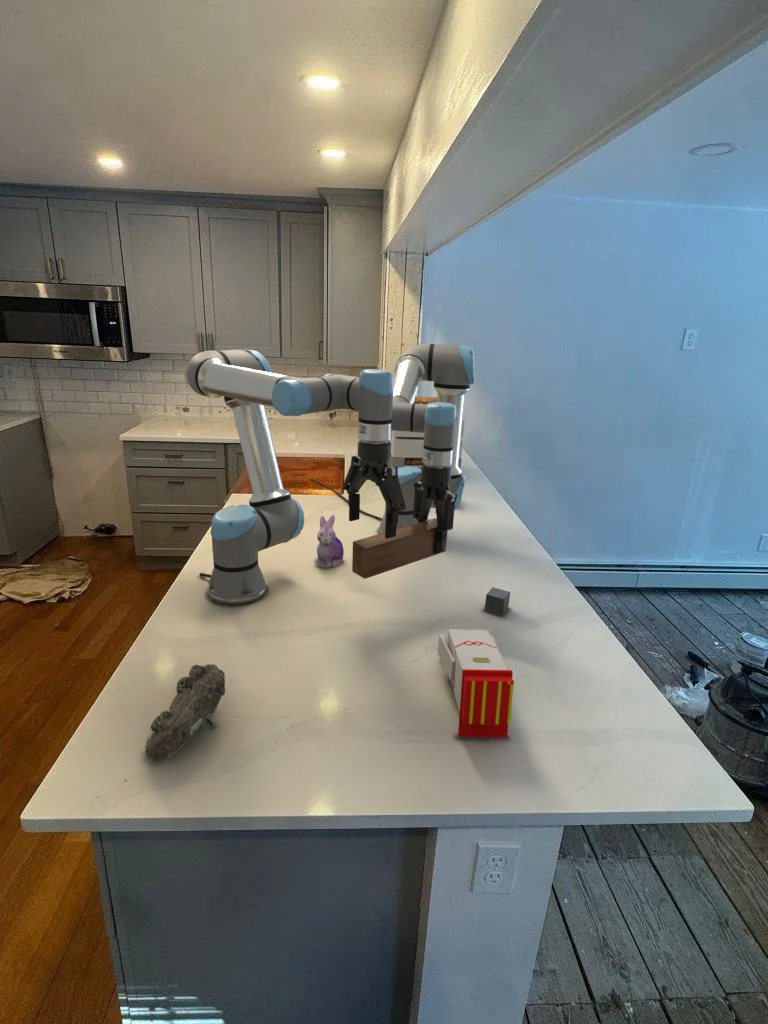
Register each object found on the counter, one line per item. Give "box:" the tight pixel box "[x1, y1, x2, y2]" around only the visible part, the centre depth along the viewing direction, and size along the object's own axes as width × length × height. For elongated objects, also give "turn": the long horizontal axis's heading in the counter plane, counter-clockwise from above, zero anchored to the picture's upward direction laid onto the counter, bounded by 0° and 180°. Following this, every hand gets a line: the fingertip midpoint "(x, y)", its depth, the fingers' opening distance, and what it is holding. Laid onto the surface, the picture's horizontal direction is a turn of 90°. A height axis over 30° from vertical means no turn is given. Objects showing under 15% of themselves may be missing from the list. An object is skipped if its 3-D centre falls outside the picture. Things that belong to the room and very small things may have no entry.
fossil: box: [144, 663, 226, 761], centre depth 105 cm, size 22×10×15 cm
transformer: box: [387, 396, 465, 470], centre depth 268 cm, size 34×33×41 cm
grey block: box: [484, 586, 511, 617], centre depth 151 cm, size 5×5×5 cm
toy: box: [437, 628, 515, 738], centre depth 117 cm, size 12×13×30 cm
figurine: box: [316, 514, 345, 568], centre depth 173 cm, size 9×10×15 cm
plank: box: [351, 517, 449, 580], centre depth 144 cm, size 5×28×8 cm, turn 131°
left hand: (371, 528), depth 135 cm, fingers open, 13 cm apart
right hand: (430, 548), depth 152 cm, fingers closed on plank, 5 cm apart
